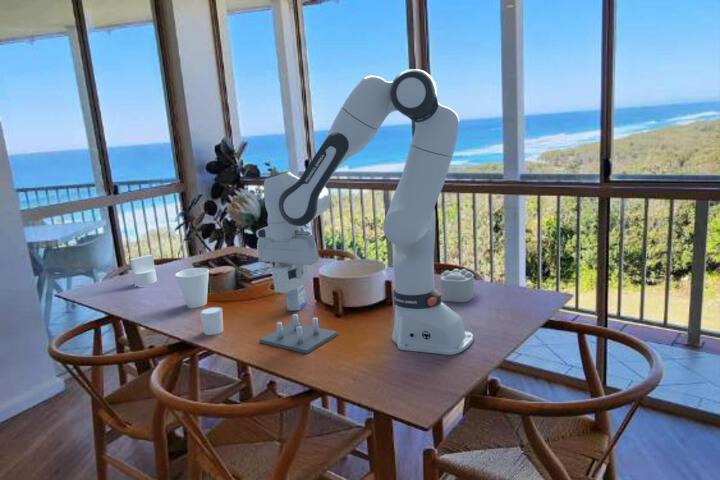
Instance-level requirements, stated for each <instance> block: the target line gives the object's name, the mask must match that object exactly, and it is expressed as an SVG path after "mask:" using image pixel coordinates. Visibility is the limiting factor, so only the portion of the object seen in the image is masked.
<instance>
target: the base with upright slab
mask: <svg viewBox="0 0 720 480" xmlns="http://www.w3.org/2000/svg"><path fill="white" fill-rule="evenodd" d="M129 261H130V267H131V272H132V279H133V284H135V285H147V284H151V283H154V282H156V281H157V282H158V280H157V272H156V268H155V261H154V255H153V254H145V255H142V256H138V257H133V258H130V259H129ZM135 285H134V286H135Z"/></svg>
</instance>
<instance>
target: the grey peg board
mask: <svg viewBox="0 0 720 480" xmlns="http://www.w3.org/2000/svg"><path fill="white" fill-rule="evenodd" d="M318 319H319V318H318V317H312V318H311V322H312V326H310V325H307V324H301V323H300V321H299V315H298V314H297V313H293V314H292V321H291V322H290V323H288V324H285V325H284V326H283V322H282V321H278V322H276V323H275V324H276V330H274V331H272V332H271V333H268V334H266V335H264V336H263V337H261V338H259V339H258V340H259V343H261V344H265V345H268V346H269V345H270V346H273V347H278V348H282V349H287V350H291V351H294V352H297V353H298V352H299V353H303V354H307V355H308V354H309V353H310V352H312V351H314V350H315V349H317V348H318V347H321V346H322V345H324V344H325V343H327V342H328V341H330V340H332V339H333V338H335V337H337V336H338V335H339V333H338V331H337V330H331V329H327V328H321V327H319V320H318Z"/></svg>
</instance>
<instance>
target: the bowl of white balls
mask: <svg viewBox="0 0 720 480" xmlns="http://www.w3.org/2000/svg"><path fill="white" fill-rule="evenodd" d="M439 279H440V280H439V283H440V293H441V292H442V291H444V292H443V294H444V295H443V296H442V297H441V301H442V302H443V301H444V302H456V303H466V302H469V301H471V300H473V298H474V296H475V280H474V279H475V278H474V274H473V272H471V271H468V270H467V269H466V268H462V269H459V268H454V269H453V270H451V271H450V270H445V271H443V273H442V275H441V277H440V278H439Z"/></svg>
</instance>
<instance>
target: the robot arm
mask: <svg viewBox="0 0 720 480" xmlns="http://www.w3.org/2000/svg"><path fill="white" fill-rule="evenodd" d="M437 95H438V94H437V85H436V82H435V80H434V78H433V77H432V76H431V74H429V73H428V72H426V71H425V70H422V69H418V68H417V69H415V68H411V69H410V68H409V69H406V70H404V71H402V72H400V73H399V74H397V76H396V77H395V78H394V79H393V81H388V80H385V79H384V78H383V77H380V76H377V75H367V76H365V77H363V78H362V79H361V80H360V81H359V83H357V85H356V86H355V87H354V88H353V90H352V91H351V93H349V95H348V96H347V98H346V99H345V101H344V103H343V104H342V105H341V108H340V110H339V111H338V112H337V115H336V117H335V118H334V120H333V122H332V124H331V126H330V129H329V130H328V133H327V134H326V135H325V138H324V140H323V141H322V144H321V146H320V147H319V149H318V150H317V152H316V153H315V155H314V156H313V158H312V160H311V161H310V163H308V166H307V167H306V169H305V170H304V172H303V173H302V175H300V177H299V176H297V175H294V174H293V173H292V172H291V171H282V172H278V173H275V174H271V175H269V176H267V177H266V178H265V179H264V183H263V197H264V205H265V209H266V212H267V225H266V226H264V227H261V228H260V229H257V230H256V231H255V235H256V237H257V238H258V239H257V241H256V242H257V243H256V245H257V253H258V256H259V259H260V260H261V261H262V262H270V263H271V262H273V263H274V267H276V266H278V265H281V264H283V263H291V264H295V267H297V270H296V272H294V278H296V279H300V278H302V270H303V267H304V265H307V266H312V265H315V264H317V263H318V261H319V259H320V257H319V256H320V255H319V251H318V246H317V244H316V241H315V236H314V235H313V234H312V233H311V232H310V231H308V230H305V231H303V230H301V227H302V226H305V225H308V224H309V223H310V222H311V221H313V220H314V219H315V218H317V217H319V216H320V215H322V214H323V213H325V212H326V211H327V210H328V208H329V207H330V205H331V200H332V199H331V194H330V191H329V189H328V188H327V187H326V186H327V184H328V183H329V181H330V179H331V178H332V176H333V175H334V173H335V172H336V170H338V168H339V167H340V166H341V165H342V164H343V163H344V162H345V161H347V160H348V159H350V158H352V157H353V156H355V155H356V154H358V153H360V152H361V151H363V150H364V148H366V147H367V146H368V144H369V143H370V142H371V141H372V139H373V138H374V137H375V136H376V134H377V133H378V131H379V129H380V128H381V126H382V125H383V123H384V121H385V120H386V118H387V117H388V116H389V115H390V114H392V113H393V112H397V111H398V112H399V113H400V114H402V115H403V116H405V117H407V118H409V119H410V120H411V121H412V122H414V126H415V127H414V133H413V137H412V139H411V143H410V147H409V149H408V152H407V157H406V161H405V164H404V167H403V171H402V174H401V176H400V179H399V181H398V183H397V185H396V186H397V187H396V188H395V190H394V191H395V192H394V194H393V197H392V198H391V202H390V205H389V207H388V209H387V213H386V216H385V217H384V220H383V225H382V230H383V234H384V237H385V238H386V240H387V241H388V242H390V243H391V244H392V245H394V246H395V247H394V255H393V260H392V261H393V262H392V268H393V269H392V270H393V284H394V285H393V286H394V287H393V288H394V289H393V290H392V291H393V297H392V298H393V305H394V311H395V313H394V322H393V323H394V325H393V331H392V334H391V340H392V341H393V342H394V343H395V344H396V345H397V349H398V350H401V351H408V352H409V351H410V352H418V353H419V352H421V353H429V354H438V355H439V354H440V355H446V356H447V355H449V356H453V355H456V354H460V353H461V352H463V351H465V350H467V348H468V347H470V345H472V343H473V341H474V335H473V332H470V331H466V330H465V324H464V321H463V318H462V316H460V315H459V314H458V313H457V312H455V311H454V310H453V309H452V308H450V307H449V306H448V305H447V304H446V303H444V302H443V300H442V299H441V297H442V296H443V295H444V294H443V292H444V291H442V292H441V291H440V292H439V291H438V289H437V287H436V284H435V283H436V282H435V266H434V265H435V264H434V262H435V261H434V260H435V259H434V257H435V256H434V255H435V243H436V242H435V241H436V208H435V206H436V204H437V201H438V199H439V197H440V194H441V192H442V191H443V190H442V189H443V187H444V184H445V182H446V178H447V175H448V172H449V168H450V165H451V163H452V159H453V156H454V152H455V149H456V145H457V140H458V136H459V134H458V133H459V126H460V119H459V118H460V117H459V115H458V114H457V112H455V111H454V110H453V109H452V108H450V107H448V106H446V105H442V104H441V103H440V102H439V101H438V97H437Z"/></svg>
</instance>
